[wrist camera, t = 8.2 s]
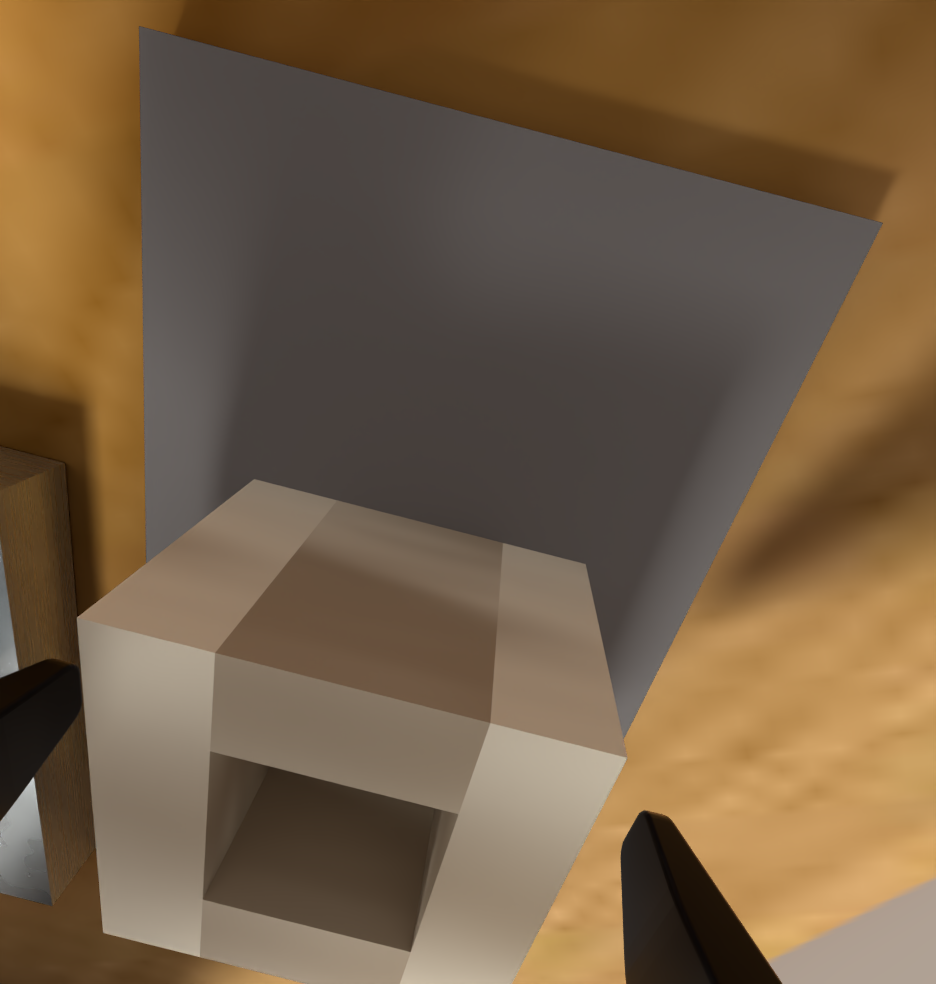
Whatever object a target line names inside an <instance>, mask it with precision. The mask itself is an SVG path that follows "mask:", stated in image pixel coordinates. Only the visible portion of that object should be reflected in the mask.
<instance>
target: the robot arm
mask: <svg viewBox="0 0 936 984" xmlns="http://www.w3.org/2000/svg"><path fill="white" fill-rule="evenodd" d="M81 706H82V691H81V678H80V669H79V667H78V666H77V665H76V664H74V663H70V662H66V661H62V660H58V659H46V660H43V661H40V662H38V663H35V664H33V665H30V666H28V667H25V668H23V669H20V670H18V671H16V672H13V673H11V674H8V675H6V676H3V677H1V678H0V821H1V820H2V819H3V818H4V816H5V815H6V814H7V812H8V811H9V810H10V809H11V807H12V806H13V805H14V803H15V802H16V801H17V799H18V798H19V797H20V795H21V794H22V792H23V791H24V790H25V788H26V787H27V786H28V784H29V783H30V781H31V780H32V779H33V777H34V776H35V774H36V773H37V772H38V770H39V769H40V768H41V766H42V765H43V763H44V762H45V761H46V759H47V758H48V757H49V755H50V754H51V752H52V751H53V750H54V748H55V747H56V746H57V744H58V743H59V741H60V740H61V739H62V737H63V736H64V734H65V733H66V732H67V730H68V729H69V728H70V726H71V725H72V723H73V722H74V721H75V719H76V718H77V716H78V714H79V712H80V709H81ZM621 881H622V909H623V936H624V960H625V977H626V984H782V982H781V981H780V980H779V978H778V976H777V975H776V974H775V972H774V970H773V969H772V968H771V966H770V964H769V963H768V962H767V960H766V959H765V957H764V956H763V954H762V953H761V951H760V950H759V948H758V947H757V945H756V944H755V942H754V941H753V939H752V938H751V936H750V935H749V933H748V932H747V931H746V929H745V928H744V926H743V925H742V923H741V922H740V920H739V919H738V917H737V916H736V914H735V913H734V911H733V910H732V908H731V907H730V905H729V904H728V902H727V901H726V899H725V898H724V897H723V895H722V894H721V892H720V891H719V889H718V888H717V886H716V885H715V883H714V882H713V880H712V879H711V877H710V876H709V874H708V873H707V871H706V870H705V868H704V867H703V865H702V864H701V863H700V861H699V860H698V858H697V857H696V855H695V854H694V852H693V851H692V849H691V848H690V846H689V845H688V843H687V842H686V840H685V839H684V837H683V836H682V834H681V833H680V832H679V830H678V829H677V827H676V826H675V824H674V823H673V821H672V820H671V819H670V818H669V817H667V816H665V815H662V814H658V813H654V812H650V811H645V810H644V811H642V812H640V813H639V815H638V816H637V818H636V820H635V822H634V823H633V825H632V827H631V829H630V830H629V832H628V834H627V836H626V837H625V839H624V841H623V844H622V849H621Z"/></svg>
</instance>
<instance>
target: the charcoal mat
mask: <svg viewBox="0 0 936 984" xmlns="http://www.w3.org/2000/svg"><path fill="white" fill-rule="evenodd" d="M139 51H140V127H141V204H142V281H143V357H144V434H145V511H146V563H147V562H149V561H150V560H151V559H153V558H154V557H155V556H156V555H158V554H159V553H160V552H161V551H163V550H164V549H165V548H167V547H168V546H169V545H170V544H172V543H173V542H174V541H176V540H177V539H178V538H179V537H181V536H182V535H183V534H185V533H186V532H187V531H188V530H190V529H191V528H192V527H193V526H195V525H196V524H197V523H199V522H200V521H201V520H202V519H204V518H205V517H206V516H208V515H209V514H210V513H211V512H213V511H214V510H215V509H217V508H218V507H219V506H220V505H222V504H223V503H224V502H226V501H227V500H228V499H229V498H231V497H232V496H233V495H234V494H236V493H237V492H238V491H240V490H241V489H242V488H243V487H245V486H246V485H247V484H249V483H250V482H251V481H252V480H254V479H256V480H260V481H264V482H267V483H271V484H275V485H279V486H283V487H287V488H291V489H295V490H299V491H303V492H306V493H310V494H314V495H318V496H322V497H326V498H330V499H334V500H338V501H341V502H345V503H349V504H353V505H357V506H361V507H365V508H369V509H373V510H377V511H380V512H384V513H388V514H392V515H396V516H400V517H404V518H408V519H412V520H416V521H419V522H423V523H427V524H431V525H435V526H439V527H443V528H447V529H451V530H455V531H458V532H462V533H466V534H470V535H474V536H478V537H482V538H486V539H490V540H493V541H497V542H501V543H505V544H509V545H513V546H517V547H521V548H525V549H529V550H532V551H536V552H540V553H544V554H548V555H552V556H556V557H560V558H564V559H568V560H571V561H575V562H579V563H583V564H586V568H587V573H588V577H589V582H590V587H591V591H592V596H593V601H594V605H595V610H596V614H597V619H598V624H599V628H600V633H601V638H602V642H603V647H604V651H605V656H606V661H607V665H608V670H609V675H610V679H611V684H612V689H613V693H614V698H615V702H616V707H617V712H618V716H619V721H620V726H621V730H622V735H623V739H624V737H625V735H626V733H627V731H628V729H629V728H630V726H631V724H632V722H633V720H634V718H635V716H636V714H637V712H638V710H639V708H640V706H641V704H642V702H643V700H644V698H645V696H646V694H647V692H648V690H649V688H650V686H651V684H652V682H653V680H654V678H655V676H656V674H657V672H658V670H659V668H660V666H661V664H662V662H663V660H664V658H665V656H666V654H667V652H668V650H669V648H670V646H671V644H672V642H673V640H674V638H675V636H676V634H677V632H678V630H679V628H680V626H681V624H682V622H683V620H684V618H685V616H686V614H687V612H688V610H689V608H690V606H691V604H692V602H693V600H694V598H695V596H696V594H697V592H698V590H699V588H700V586H701V584H702V582H703V580H704V578H705V576H706V574H707V572H708V570H709V568H710V566H711V564H712V562H713V560H714V558H715V556H716V554H717V552H718V550H719V548H720V546H721V544H722V542H723V540H724V538H725V536H726V534H727V532H728V530H729V528H730V526H731V524H732V522H733V520H734V518H735V516H736V514H737V512H738V510H739V508H740V506H741V504H742V502H743V500H744V499H745V497H746V495H747V493H748V491H749V489H750V487H751V485H752V483H753V481H754V479H755V477H756V475H757V473H758V471H759V469H760V467H761V465H762V463H763V461H764V459H765V457H766V455H767V453H768V451H769V449H770V447H771V445H772V443H773V441H774V439H775V437H776V435H777V433H778V431H779V429H780V427H781V425H782V423H783V421H784V419H785V417H786V415H787V413H788V411H789V409H790V407H791V405H792V403H793V401H794V399H795V397H796V395H797V393H798V391H799V389H800V387H801V385H802V383H803V381H804V379H805V377H806V375H807V373H808V371H809V369H810V367H811V365H812V363H813V361H814V359H815V357H816V355H817V353H818V351H819V349H820V347H821V345H822V343H823V341H824V339H825V337H826V335H827V333H828V331H829V329H830V327H831V325H832V323H833V321H834V319H835V317H836V315H837V313H838V311H839V309H840V307H841V305H842V303H843V301H844V299H845V297H846V295H847V293H848V291H849V289H850V287H851V285H852V283H853V281H854V279H855V277H856V275H857V273H858V271H859V269H860V268H861V266H862V264H863V262H864V260H865V258H866V256H867V254H868V252H869V250H870V248H871V246H872V244H873V242H874V240H875V238H876V236H877V234H878V232H879V230H880V228H881V226H882V224H883V223H881V222H877V221H873V220H869V219H866V218H862V217H858V216H854V215H851V214H847V213H843V212H839V211H835V210H832V209H828V208H824V207H820V206H817V205H813V204H809V203H805V202H801V201H798V200H794V199H790V198H786V197H783V196H779V195H775V194H771V193H767V192H764V191H760V190H756V189H752V188H749V187H745V186H741V185H737V184H734V183H730V182H726V181H722V180H718V179H715V178H711V177H707V176H703V175H700V174H696V173H692V172H688V171H684V170H681V169H677V168H673V167H669V166H666V165H662V164H658V163H654V162H650V161H647V160H643V159H639V158H635V157H632V156H628V155H624V154H620V153H616V152H613V151H609V150H605V149H601V148H598V147H594V146H590V145H586V144H582V143H579V142H575V141H571V140H567V139H564V138H560V137H556V136H552V135H548V134H545V133H541V132H537V131H533V130H530V129H526V128H522V127H518V126H514V125H511V124H507V123H503V122H499V121H496V120H492V119H488V118H484V117H480V116H477V115H473V114H469V113H465V112H462V111H458V110H454V109H450V108H446V107H443V106H439V105H435V104H431V103H428V102H424V101H420V100H416V99H412V98H409V97H405V96H401V95H397V94H394V93H390V92H386V91H382V90H379V89H375V88H371V87H367V86H363V85H360V84H356V83H352V82H348V81H345V80H341V79H337V78H333V77H329V76H326V75H322V74H318V73H314V72H311V71H307V70H303V69H299V68H295V67H292V66H288V65H284V64H280V63H277V62H273V61H269V60H265V59H261V58H258V57H254V56H250V55H246V54H243V53H239V52H235V51H231V50H227V49H224V48H220V47H216V46H212V45H209V44H205V43H201V42H197V41H193V40H190V39H186V38H182V37H178V36H175V35H171V34H167V33H163V32H159V31H156V30H152V29H148V28H144V27H141V26H139Z"/></svg>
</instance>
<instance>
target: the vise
mask: <svg viewBox="0 0 936 984" xmlns="http://www.w3.org/2000/svg"><path fill="white" fill-rule="evenodd" d="M46 659H58V660H62V661H66V662H70V663H74V664H76V665H77V666H78V667H79V669H80V678H81V691H82V706H81V709H80V712H79V714H78V716H77V718H76V719H75V721H74V722H73V723H72V725H71V726H70V728H69V729H68V730H67V732H66V733H65V734H64V736H63V737H62V739H61V740H60V741H59V743H58V744H57V746H56V747H55V748H54V750H53V751H52V752H51V754H50V755H49V757H48V758H47V759H46V761H45V762H44V763H43V765H42V766H41V768H40V769H39V770H38V772H37V773H36V774H35V776H34V777H33V779H32V780H31V781H30V783H29V784H28V786H27V787H26V788H25V790H24V791H23V792H22V794H21V795H20V797H19V798H18V799H17V801H16V802H15V803H14V805H13V806H12V807H11V809H10V810H9V811H8V812H7V814H6V815H5V816H4V818H3V819H2V820H1V821H0V893H3V894H7V895H11V896H15V897H18V898H22V899H26V900H30V901H34V902H38V903H42V904H46V905H50V906H53V904H54V903H55V902H56V900H57V899H58V898H59V896H60V895H61V894H62V892H63V891H64V890H65V888H66V887H67V886H68V884H69V883H70V881H71V880H72V879H73V877H74V876H75V875H76V873H77V872H78V871H79V869H80V868H81V867H82V865H83V864H84V862H85V861H86V860H87V858H88V857H89V856H90V854H91V853H92V852H93V850H94V849H95V848H96V846H95V833H94V821H93V808H92V796H91V783H90V771H89V758H88V746H87V734H86V723H85V711H84V699H83V687H82V675H81V663H80V651H79V639H78V627H77V607H76V595H75V582H74V570H73V557H72V545H71V532H70V520H69V507H68V495H67V482H66V469H65V463H63V462H59V461H55V460H51V459H47V458H43V457H40V456H36V455H32V454H28V453H24V452H20V451H16V450H13V449H9V448H5V447H1V446H0V678H1V677H3V676H6V675H8V674H11V673H13V672H16V671H18V670H20V669H23V668H25V667H28V666H30V665H33V664H35V663H38V662H40V661H43V660H46Z"/></svg>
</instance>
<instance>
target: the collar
mask: <svg viewBox="0 0 936 984" xmlns="http://www.w3.org/2000/svg"><path fill="white" fill-rule="evenodd" d="M77 627H78V639H79V651H80V663H81V675H82V687H83V699H84V711H85V723H86V734H87V746H88V758H89V770H90V782H91V794H92V806H93V818H94V830H95V842H96V854H97V866H98V878H99V890H100V902H101V913H102V925H103V933H106V934H110V935H114V936H118V937H122V938H126V939H130V940H134V941H137V942H141V943H145V944H149V945H153V946H157V947H161V948H165V949H169V950H173V951H177V952H181V953H185V954H189V955H193V956H197V957H201V958H205V959H209V960H213V961H217V962H221V963H225V964H229V965H233V966H237V967H241V968H245V969H249V970H253V971H257V972H261V973H265V974H269V975H273V976H277V977H281V978H285V979H289V980H293V981H297V982H301V983H305V984H512V982H513V980H514V978H515V977H516V975H517V973H518V971H519V969H520V967H521V965H522V963H523V961H524V959H525V957H526V955H527V953H528V951H529V949H530V947H531V945H532V943H533V941H534V939H535V937H536V936H537V934H538V932H539V930H540V928H541V926H542V924H543V922H544V920H545V918H546V916H547V914H548V912H549V910H550V908H551V906H552V904H553V902H554V900H555V898H556V896H557V895H558V893H559V891H560V889H561V887H562V885H563V883H564V881H565V879H566V877H567V875H568V873H569V871H570V869H571V867H572V865H573V863H574V861H575V859H576V857H577V855H578V854H579V852H580V850H581V848H582V846H583V844H584V842H585V840H586V838H587V836H588V834H589V832H590V830H591V828H592V826H593V824H594V822H595V820H596V818H597V816H598V814H599V813H600V811H601V809H602V807H603V805H604V803H605V801H606V799H607V797H608V795H609V793H610V791H611V789H612V787H613V785H614V783H615V781H616V779H617V777H618V775H619V773H620V772H621V770H622V768H623V766H624V764H625V762H626V760H627V753H626V749H625V744H624V740H623V735H622V730H621V726H620V721H619V716H618V712H617V707H616V702H615V698H614V693H613V689H612V684H611V679H610V675H609V670H608V665H607V661H606V656H605V651H604V647H603V642H602V638H601V633H600V628H599V624H598V619H597V614H596V610H595V605H594V601H593V596H592V591H591V587H590V582H589V577H588V573H587V568H586V564H583V563H579V562H575V561H571V560H568V559H564V558H560V557H556V556H552V555H548V554H544V553H540V552H536V551H532V550H529V549H525V548H521V547H517V546H513V545H509V544H505V543H501V542H497V541H493V540H490V539H486V538H482V537H478V536H474V535H470V534H466V533H462V532H458V531H455V530H451V529H447V528H443V527H439V526H435V525H431V524H427V523H423V522H419V521H416V520H412V519H408V518H404V517H400V516H396V515H392V514H388V513H384V512H380V511H377V510H373V509H369V508H365V507H361V506H357V505H353V504H349V503H345V502H341V501H338V500H334V499H330V498H326V497H322V496H318V495H314V494H310V493H306V492H303V491H299V490H295V489H291V488H287V487H283V486H279V485H275V484H271V483H267V482H264V481H260V480H256V479H254V480H252V481H251V482H250V483H249V484H247V485H246V486H245V487H243V488H242V489H241V490H240V491H238V492H237V493H236V494H234V495H233V496H232V497H231V498H229V499H228V500H227V501H226V502H224V503H223V504H222V505H220V506H219V507H218V508H217V509H215V510H214V511H213V512H211V513H210V514H209V515H208V516H206V517H205V518H204V519H202V520H201V521H200V522H199V523H197V524H196V525H195V526H193V527H192V528H191V529H190V530H188V531H187V532H186V533H185V534H183V535H182V536H181V537H179V538H178V539H177V540H176V541H174V542H173V543H172V544H170V545H169V546H168V547H167V548H165V549H164V550H163V551H161V552H160V553H159V554H158V555H156V556H155V557H154V558H153V559H151V560H150V561H149V562H147V563H146V564H145V565H144V566H142V567H141V568H140V569H138V570H137V571H136V572H135V573H133V574H132V575H131V576H129V577H128V578H127V579H126V580H124V581H123V582H122V583H121V584H119V585H118V586H117V587H115V588H114V589H113V590H112V591H110V592H109V593H108V594H106V595H105V596H104V597H103V598H101V599H100V600H99V601H97V602H96V603H95V604H94V605H92V606H91V607H90V608H89V609H87V610H86V611H85V612H83V613H82V614H81V615H80V616H78V617H77Z"/></svg>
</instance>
